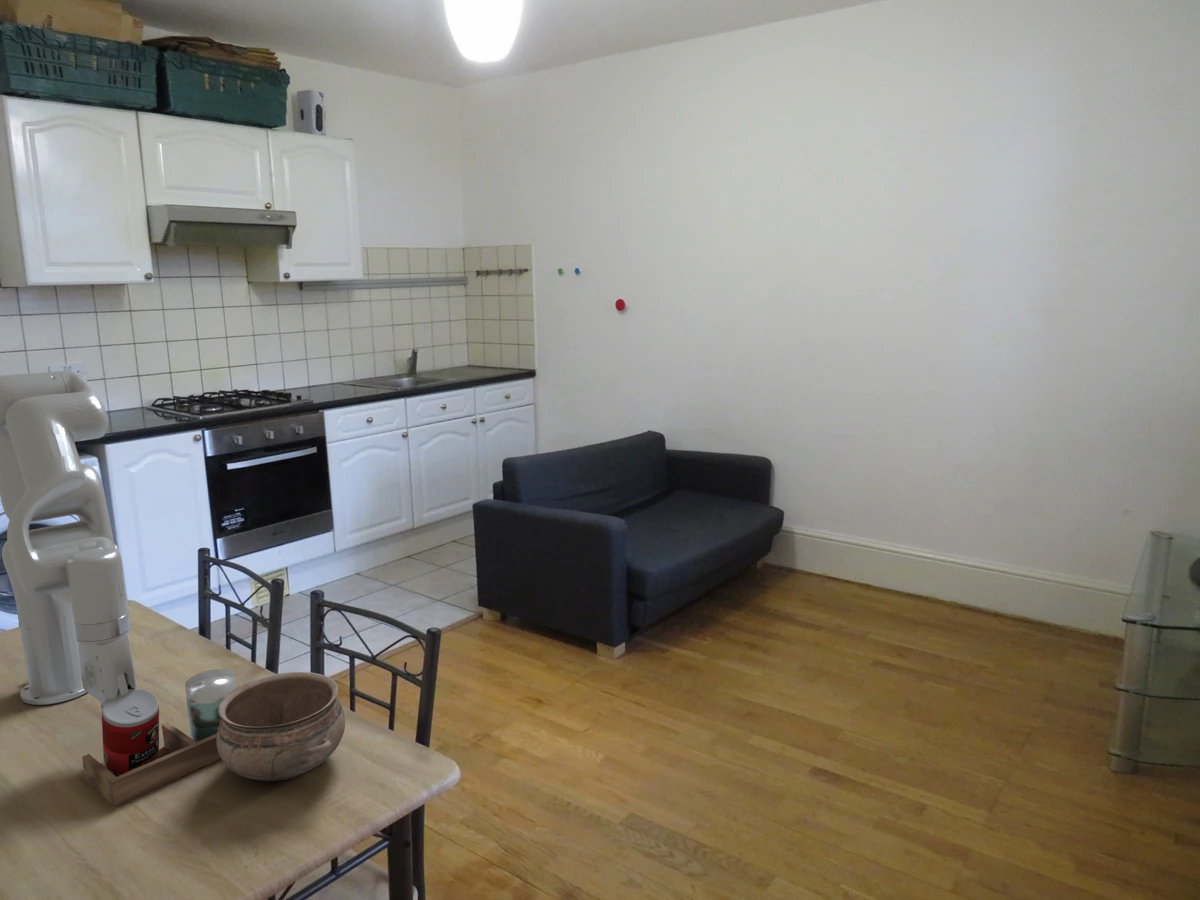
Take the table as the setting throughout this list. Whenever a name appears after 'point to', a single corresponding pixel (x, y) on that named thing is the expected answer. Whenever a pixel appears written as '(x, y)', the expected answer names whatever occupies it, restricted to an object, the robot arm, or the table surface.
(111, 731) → the canned food
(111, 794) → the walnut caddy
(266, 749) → the cooking pot
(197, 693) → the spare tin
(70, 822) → the table surface
